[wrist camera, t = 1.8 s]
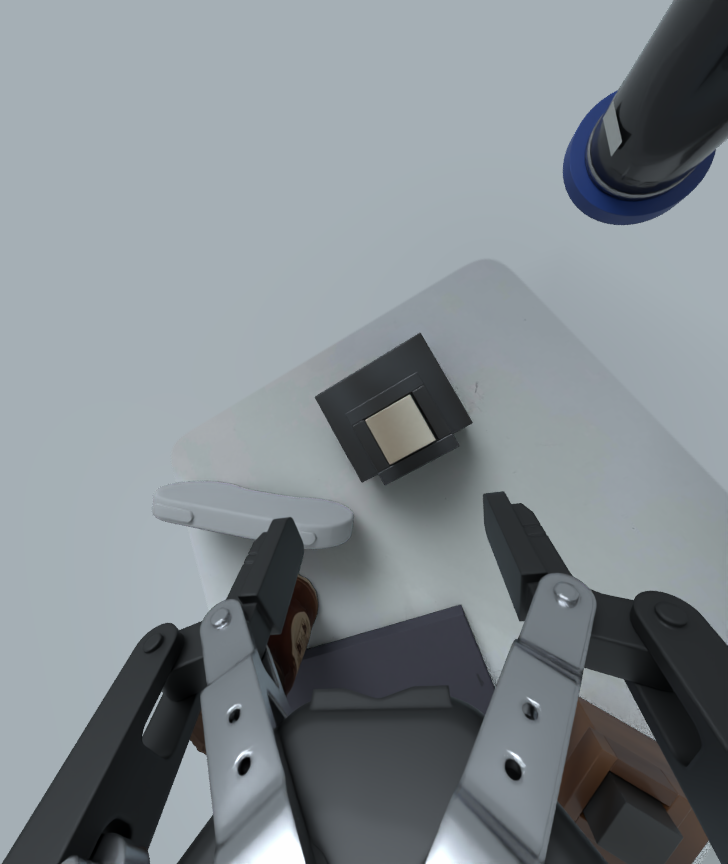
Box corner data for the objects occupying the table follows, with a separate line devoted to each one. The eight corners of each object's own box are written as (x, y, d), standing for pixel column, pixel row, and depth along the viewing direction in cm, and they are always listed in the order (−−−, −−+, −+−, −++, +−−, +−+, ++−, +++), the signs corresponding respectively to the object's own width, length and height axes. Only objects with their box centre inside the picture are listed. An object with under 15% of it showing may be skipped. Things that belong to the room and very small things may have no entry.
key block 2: (563, 682, 29) (602, 749, 23) (683, 751, 27) (758, 842, 21) (500, 782, 30) (521, 870, 24) (612, 854, 29) (664, 967, 23)
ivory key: (410, 396, 25) (409, 394, 23) (434, 438, 25) (436, 440, 23) (368, 420, 25) (364, 420, 23) (391, 461, 25) (389, 465, 23)
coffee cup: (342, 582, 32) (294, 689, 19) (317, 651, 33) (256, 798, 20) (269, 551, 33) (179, 631, 21) (247, 618, 34) (147, 735, 21)
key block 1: (419, 344, 30) (420, 325, 24) (469, 431, 30) (483, 433, 24) (327, 400, 32) (307, 394, 26) (373, 483, 31) (363, 497, 25)
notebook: (461, 604, 30) (277, 657, 34) (463, 614, 29) (270, 669, 32) (510, 725, 30) (319, 767, 33) (515, 742, 28) (314, 783, 32)
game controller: (193, 496, 35) (125, 518, 27) (195, 476, 35) (127, 493, 26) (358, 526, 32) (338, 562, 23) (360, 504, 32) (342, 533, 23)
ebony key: (607, 769, 23) (626, 802, 21) (660, 800, 23) (684, 837, 21) (581, 808, 24) (596, 844, 22) (632, 840, 23) (653, 880, 21)
